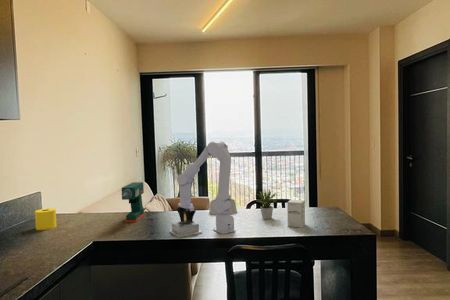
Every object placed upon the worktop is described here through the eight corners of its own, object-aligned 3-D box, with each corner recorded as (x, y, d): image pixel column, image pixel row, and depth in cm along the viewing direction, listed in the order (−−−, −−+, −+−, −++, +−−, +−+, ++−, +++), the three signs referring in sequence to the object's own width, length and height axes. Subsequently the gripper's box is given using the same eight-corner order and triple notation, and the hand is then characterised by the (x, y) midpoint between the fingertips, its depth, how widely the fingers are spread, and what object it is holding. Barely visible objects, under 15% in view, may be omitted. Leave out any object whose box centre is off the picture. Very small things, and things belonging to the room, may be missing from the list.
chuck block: (201, 233, 168) (201, 224, 168) (178, 237, 162) (178, 228, 162) (191, 227, 179) (191, 219, 179) (169, 231, 173) (169, 222, 173)
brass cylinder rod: (189, 226, 181) (188, 211, 181) (185, 227, 180) (184, 212, 180) (187, 225, 183) (187, 210, 183) (183, 226, 182) (182, 211, 182)
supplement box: (287, 226, 176) (286, 201, 175) (291, 223, 183) (291, 199, 182) (301, 227, 173) (301, 202, 172) (305, 224, 179) (305, 199, 179)
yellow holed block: (47, 230, 183) (47, 212, 183) (31, 229, 185) (30, 212, 185) (60, 225, 193) (59, 208, 193) (44, 224, 195) (43, 208, 195)
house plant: (280, 221, 185) (279, 191, 185) (254, 221, 187) (253, 191, 187) (280, 215, 199) (279, 187, 199) (256, 215, 201) (255, 187, 201)
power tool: (130, 228, 182) (128, 190, 181) (117, 228, 182) (115, 190, 181) (145, 214, 213) (144, 182, 213) (134, 214, 214) (132, 182, 213)
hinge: (210, 214, 208) (209, 198, 210) (209, 215, 212) (208, 199, 215) (237, 212, 210) (236, 196, 213) (236, 214, 214) (235, 197, 217)
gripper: (198, 197, 177) (199, 223, 178) (185, 193, 189) (186, 218, 190) (186, 199, 173) (187, 226, 174) (173, 195, 185) (174, 220, 186)
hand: (186, 222), depth 182 cm, fingers open, 7 cm apart
